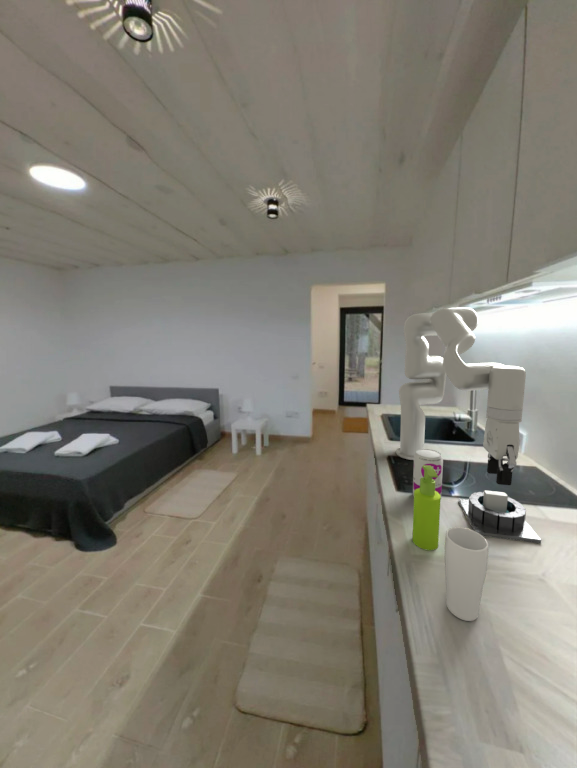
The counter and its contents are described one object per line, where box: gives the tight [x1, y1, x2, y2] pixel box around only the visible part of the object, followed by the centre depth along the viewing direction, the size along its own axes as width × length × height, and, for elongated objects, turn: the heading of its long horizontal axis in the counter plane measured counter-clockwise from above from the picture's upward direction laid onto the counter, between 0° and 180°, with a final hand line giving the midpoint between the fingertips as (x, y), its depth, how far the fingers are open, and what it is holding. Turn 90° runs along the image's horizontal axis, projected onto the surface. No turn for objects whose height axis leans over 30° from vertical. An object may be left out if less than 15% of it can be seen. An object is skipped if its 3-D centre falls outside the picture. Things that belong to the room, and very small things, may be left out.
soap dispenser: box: [412, 465, 442, 551], centre depth 73 cm, size 6×7×20 cm
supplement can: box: [412, 448, 444, 497], centre depth 94 cm, size 8×8×15 cm
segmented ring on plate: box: [458, 491, 542, 544], centre depth 82 cm, size 16×14×5 cm
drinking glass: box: [444, 526, 489, 622], centre depth 55 cm, size 7×7×15 cm
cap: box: [481, 490, 509, 513], centre depth 82 cm, size 7×7×7 cm
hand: (498, 478), depth 81 cm, fingers open, 5 cm apart
